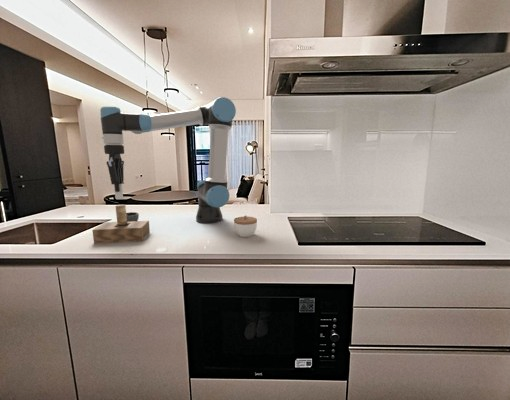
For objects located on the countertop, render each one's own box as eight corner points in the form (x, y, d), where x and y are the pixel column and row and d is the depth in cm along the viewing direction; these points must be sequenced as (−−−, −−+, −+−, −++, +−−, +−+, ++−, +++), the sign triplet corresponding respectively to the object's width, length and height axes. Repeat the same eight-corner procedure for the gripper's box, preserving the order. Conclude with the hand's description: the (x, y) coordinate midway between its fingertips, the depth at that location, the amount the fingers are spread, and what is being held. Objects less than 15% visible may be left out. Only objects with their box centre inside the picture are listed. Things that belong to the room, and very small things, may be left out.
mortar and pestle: (143, 225, 137) (141, 203, 135) (131, 230, 128) (129, 206, 126) (124, 224, 139) (122, 202, 137) (112, 229, 130) (109, 206, 128)
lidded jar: (261, 234, 120) (261, 215, 118) (245, 240, 112) (245, 220, 110) (245, 230, 127) (245, 212, 125) (229, 235, 119) (229, 216, 117)
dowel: (129, 233, 119) (127, 204, 117) (126, 236, 115) (123, 206, 113) (120, 234, 119) (117, 204, 116) (116, 237, 114) (113, 206, 112)
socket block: (149, 232, 124) (148, 220, 123) (142, 240, 112) (141, 227, 111) (106, 234, 121) (104, 222, 120) (94, 243, 110) (92, 229, 109)
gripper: (110, 145, 115) (116, 196, 119) (97, 144, 102) (103, 201, 107) (128, 145, 116) (133, 196, 120) (117, 144, 103) (122, 201, 108)
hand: (119, 198), depth 113 cm, fingers closed
